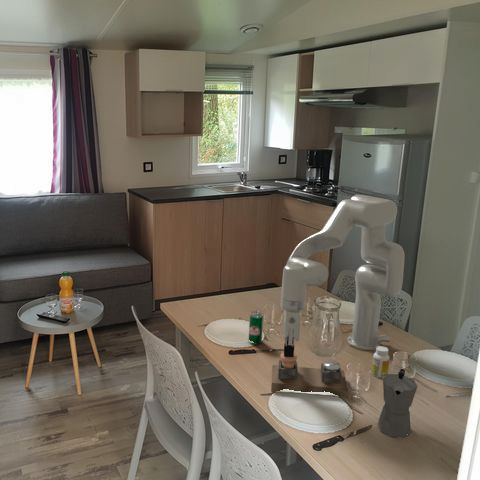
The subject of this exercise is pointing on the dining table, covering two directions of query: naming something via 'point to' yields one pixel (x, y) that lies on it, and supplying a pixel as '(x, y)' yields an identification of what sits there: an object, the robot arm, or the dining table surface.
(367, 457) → the dining table surface
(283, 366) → the terracotta plunger
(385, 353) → the supplement bottle
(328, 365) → the grey plunger
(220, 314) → the dining table surface
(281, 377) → the panel
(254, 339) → the soda can
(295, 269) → the robot arm
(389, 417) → the coffeepot
